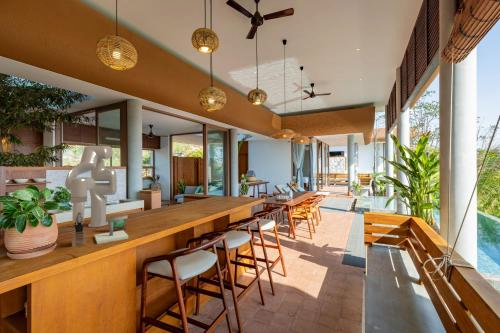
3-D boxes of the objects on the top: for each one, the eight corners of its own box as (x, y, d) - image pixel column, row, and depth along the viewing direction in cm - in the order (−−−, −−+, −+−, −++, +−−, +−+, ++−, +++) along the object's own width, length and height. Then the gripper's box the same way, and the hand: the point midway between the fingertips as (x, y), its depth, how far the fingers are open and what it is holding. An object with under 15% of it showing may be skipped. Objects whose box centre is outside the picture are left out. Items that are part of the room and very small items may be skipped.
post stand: (94, 237, 143) (94, 221, 143) (123, 232, 153) (123, 218, 153) (97, 243, 131) (97, 227, 131) (128, 238, 141) (128, 222, 141)
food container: (104, 232, 153) (104, 217, 153) (108, 230, 159) (108, 215, 159) (124, 231, 155) (124, 216, 155) (127, 229, 161) (127, 215, 161)
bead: (71, 243, 131) (71, 233, 131) (85, 241, 135) (85, 231, 135) (72, 246, 126) (72, 235, 126) (86, 244, 130) (86, 233, 130)
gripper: (70, 199, 135) (70, 228, 135) (70, 202, 121) (70, 234, 121) (86, 198, 140) (86, 226, 139) (88, 200, 126) (88, 232, 126)
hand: (78, 230), depth 130 cm, fingers open, 9 cm apart
